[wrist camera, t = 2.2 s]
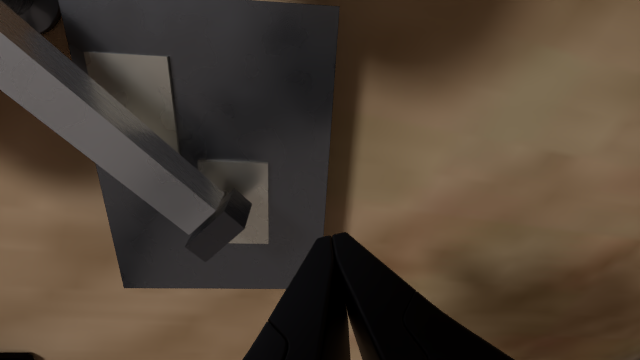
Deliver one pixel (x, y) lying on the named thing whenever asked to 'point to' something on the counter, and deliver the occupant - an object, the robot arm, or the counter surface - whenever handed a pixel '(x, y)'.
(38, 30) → the pivot base
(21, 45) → the cable arm
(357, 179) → the counter surface
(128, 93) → the chassis
